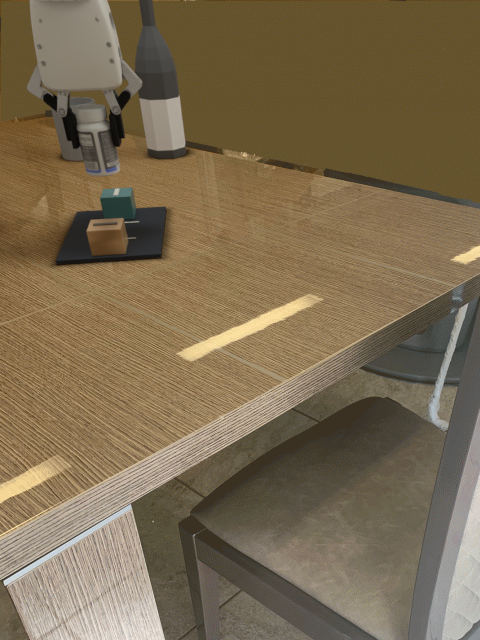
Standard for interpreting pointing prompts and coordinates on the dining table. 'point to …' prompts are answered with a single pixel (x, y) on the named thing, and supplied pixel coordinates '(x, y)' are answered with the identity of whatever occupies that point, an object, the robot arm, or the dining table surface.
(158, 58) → the wine bottle
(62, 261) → the mat
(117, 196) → the teal block
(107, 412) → the dining table surface
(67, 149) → the cup
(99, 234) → the maple block
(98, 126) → the pill bottle
